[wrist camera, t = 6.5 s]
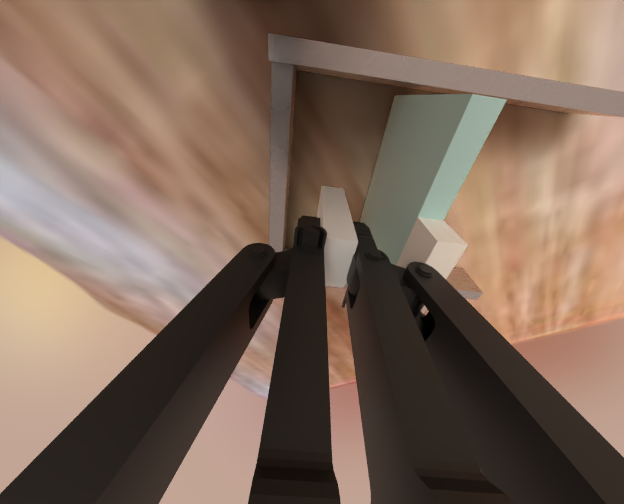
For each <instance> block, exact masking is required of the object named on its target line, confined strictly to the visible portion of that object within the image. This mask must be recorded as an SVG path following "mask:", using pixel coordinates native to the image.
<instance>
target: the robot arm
mask: <svg viewBox="0 0 624 504" xmlns="http://www.w3.org/2000/svg"><path fill="white" fill-rule="evenodd" d="M346 281H347V285H348V288H347V291H346V294H345V297H344V300H343V303H342V307H345V303H346V305H347V312H348V320H349V328H350V335H351V343H352V351H353V358H354V366H355V373H356V381H357V388H358V396H359V404H360V412H361V419H362V426H363V434H364V442H365V449H366V457H367V464H368V473H369V480H370V489H371V504H624V458H623V457H622V456H621V454H620V453H618V452H617V450H615V448H614V447H612V445H611V444H609V443H608V441H606V440H605V438H603V436H602V435H601V434H600V433H598V432H597V430H596V429H595V428H593V426H592V425H591V424H590V423H589V422H587V421H586V420H585V419H584V417H582V415H581V414H580V413H579V412H578V411H576V409H575V408H574V407H573V406H571V404H570V403H569V402H567V400H566V399H564V397H562V396H561V394H560V393H559V392H558V391H556V389H555V388H554V387H553V386H552V385H551V384H550V383H549V382H548V381H547V380H546V379H545V378H543V376H542V375H541V374H540V373H538V371H536V369H534V367H533V366H532V365H531V364H530V363H529V362H528V361H527V360H526V359H524V357H523V356H522V355H521V354H520V353H519V352H518V351H517V350H516V349H515V348H514V347H513V346H512V345H511V344H510V343H509V342H508V341H507V340H506V339H505V338H504V337H503V336H502V335H501V334H500V333H499V332H498V331H497V330H496V329H495V328H494V327H493V326H492V325H491V324H490V323H489V322H488V321H487V320H486V319H485V318H484V317H483V316H482V315H481V314H480V313H479V312H478V311H477V310H476V309H475V308H474V307H473V306H472V305H471V304H470V303H469V302H468V301H467V300H466V299H465V298H464V297H463V296H462V295H461V294H460V293H459V292H458V291H457V290H456V289H455V288H454V287H453V286H452V285H451V284H450V283H449V282H448V281H447V280H446V279H445V278H444V277H443V276H442V275H441V274H440V273H439V272H438V271H437V270H435V269H434V268H433V267H431V266H429V265H428V264H425V263H422V262H410V263H409V264H408V266H407V268H403V267H400V266H397V265H394V264H391V262H390V260H389V258H388V256H387V255H386V254H385V253H384V252H382V251H381V250H378V249H377V246H376V244H375V241H374V239H373V236H372V234H371V231H370V228H369V227H368V226H367V225H366V224H365V223H361V222H353V221H352V217H351V213H350V210H349V206H348V202H347V199H346V195H345V191H344V189H343V188H336V187H329V186H321V192H320V198H319V205H318V211H317V217H310V216H302V217H300V218H299V219H298V225H297V227H296V228H295V234H294V244H293V247H292V248H290V249H289V250H286V251H281V252H275V250H274V248H272V247H271V246H270V245H267V244H263V243H253V244H250V245H247V246H246V247H244V248H243V249H242V250H241V251H240V252H239V253H238V254H237V255H236V256H235V257H234V258H233V259H232V260H231V261H230V262H229V263H228V264H227V265H226V266H225V267H224V268H223V269H222V270H221V271H220V272H219V273H218V274H217V275H216V276H215V277H214V278H213V279H212V280H211V281H210V282H209V283H208V284H207V285H206V286H205V287H204V288H203V289H202V290H201V291H200V292H199V293H198V294H197V295H196V296H195V297H194V298H193V299H192V300H191V302H190V303H189V304H188V305H187V306H186V307H185V308H184V309H183V310H182V311H181V312H180V313H179V314H178V315H177V316H176V317H175V318H174V319H173V320H172V321H171V322H170V323H169V324H168V325H167V326H166V327H165V328H164V329H163V330H162V331H161V332H160V333H159V334H158V335H157V336H156V337H155V338H154V339H153V340H152V341H151V342H150V343H149V344H148V345H147V346H146V347H145V348H144V349H143V350H142V351H141V352H140V353H139V354H138V355H137V356H136V357H135V358H134V359H133V360H132V361H131V362H130V363H129V364H128V365H127V366H126V367H125V368H124V369H123V370H122V371H121V372H120V373H119V374H118V375H117V377H115V378H114V379H113V380H112V381H111V382H110V383H109V384H108V386H106V387H105V388H104V389H103V390H102V391H101V392H100V394H99V395H98V396H97V397H96V398H95V399H94V400H93V401H92V402H91V403H90V404H89V405H88V406H87V407H86V408H85V409H84V410H83V411H82V412H81V413H80V414H79V415H78V416H77V417H76V418H75V419H74V420H73V421H72V422H71V423H70V424H69V425H68V426H67V427H66V428H65V429H64V430H63V431H62V432H61V433H60V434H59V435H58V436H57V437H56V438H55V439H54V440H53V441H52V442H51V443H50V444H49V445H48V446H47V447H46V448H45V449H44V450H43V451H42V452H41V453H40V454H39V455H38V456H37V457H36V458H35V459H34V460H33V461H32V462H31V463H30V464H29V465H28V466H27V468H25V469H24V470H23V471H22V472H21V474H19V475H18V477H17V478H15V480H14V481H12V482H11V483H10V485H9V486H8V487H7V488H6V489H5V490H4V491H3V492H2V493H1V494H0V504H158V503H159V502H160V500H161V498H162V496H163V495H164V493H165V491H166V489H167V488H168V486H169V484H170V482H171V481H172V479H173V477H174V475H175V474H176V472H177V470H178V468H179V466H180V465H181V463H182V461H183V459H184V457H185V456H186V454H187V452H188V450H189V449H190V447H191V445H192V443H193V441H194V440H195V438H196V436H197V435H198V433H199V431H200V429H201V427H202V426H203V424H204V422H205V420H206V419H207V417H208V415H209V413H210V411H211V410H212V408H213V406H214V404H215V403H216V401H217V399H218V397H219V396H220V394H221V392H222V390H223V389H224V387H225V385H226V383H227V381H228V380H229V378H230V376H231V374H232V373H233V371H234V369H235V367H236V366H237V364H238V362H239V360H240V358H241V357H242V355H243V353H244V351H245V350H246V348H247V346H248V344H249V343H250V341H251V339H252V337H253V335H254V334H255V332H256V330H257V328H258V327H259V325H260V323H261V321H262V320H263V318H264V316H265V314H266V312H267V311H268V309H269V307H270V305H271V304H272V301H273V299H276V298H282V297H285V299H284V305H283V311H282V317H281V322H280V328H279V334H278V340H277V346H276V352H275V358H274V364H273V370H272V376H271V382H270V388H269V394H268V400H267V406H266V412H265V418H264V424H263V430H262V436H261V442H260V448H259V454H258V459H257V464H256V469H255V472H254V477H253V481H252V486H251V491H250V496H249V501H248V504H340V495H339V489H338V483H337V480H336V477H335V474H334V471H333V464H332V449H331V423H330V398H329V369H328V343H327V317H326V290H325V286H328V287H337V288H344V287H345V284H346ZM424 305H425V307H426V308H427V309H428V310H429V312H428V314H427V315H426V316H425V315H424V314H423V313H422V312H421V310H422V308H423V307H424ZM479 467H480V468H479ZM480 469H481V470H480ZM483 474H484V475H483Z"/></svg>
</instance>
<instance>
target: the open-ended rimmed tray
mask: <svg viewBox="0 0 624 504" xmlns="http://www.w3.org/2000/svg"><path fill="white" fill-rule="evenodd" d="M268 60H269V61H270V62H271V131H270V206H269V245H270V246H271V247H272V248H274V250H275V252H281V251H286V250H289V249H290V248H285V243H286V228H287V213H288V197H289V182H290V167H291V151H292V136H293V121H294V106H295V90H296V75H297V70H299V71H305V72H312V73H318V74H324V75H330V76H337V77H343V78H349V79H356V80H362V81H368V82H374V83H381V84H387V85H393V86H400V87H406V88H412V89H419V90H425V91H431V92H437V93H444V94H476V95H482V96H488V97H495V98H501V99H507V101H506V103H507V104H513V105H519V106H525V107H532V108H538V109H544V110H551V111H557V112H563V113H571V114H586V115H601V116H616V117H624V92H620V91H614V90H608V89H602V88H596V87H590V86H584V85H578V84H572V83H566V82H560V81H554V80H548V79H542V78H536V77H530V76H524V75H518V74H512V73H506V72H500V71H494V70H488V69H482V68H476V67H470V66H464V65H458V64H452V63H446V62H440V61H434V60H428V59H422V58H416V57H410V56H404V55H398V54H392V53H386V52H380V51H374V50H368V49H362V48H356V47H350V46H344V45H338V44H332V43H326V42H320V41H314V40H308V39H302V38H296V37H290V36H284V35H278V34H272V33H268ZM446 280H447V281H448V282H449V283H450V284H451V285H452V286H453V287H454V288H455V289H456V290H457V291H458V292H459V293H460V294H461V295H462V296H463V297H464V298H465V299H473V300H477V299H478V298H479V297H480V296H481V294H482V293H483V292H482V291H481V290H480V288H479V287H478V286H477V285H476V284H475V283H474V281H473V280H472V279H471V278H470V277H469V275H468V274H467V273H466V272H465V271H464V269H463V268H455V267H454V268H453V269H452V271H451V272H450V274H449V276H448V277H447V279H446ZM345 286H348V285H347V281H346V284H345Z"/></svg>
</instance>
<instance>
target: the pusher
mask: <svg viewBox="0 0 624 504" xmlns="http://www.w3.org/2000/svg"><path fill="white" fill-rule="evenodd" d="M506 101H507V99H501V98H495V97H488V96H482V95H476V94H438V95H395V97H394V100H393V104H392V107H391V111H390V114H389V118H388V122H387V125H386V129H385V132H384V136H383V139H382V143H381V146H380V150H379V154H378V157H377V161H376V164H375V168H374V171H373V175H372V179H371V182H370V186H369V189H368V193H367V196H366V200H365V204H364V207H363V211H362V214H361V218H360V221H359V222H361V223H365V224H366V225H367V226H368V227H369V228H370V231H371V234H372V236H373V239H374V241H375V244H376V246H377V249H378V250H381V251H382V252H384V253H385V254H386V255H387V256H388V258H389V260H390V262H391V264H394V265H397V266H400V267H403V268H407V266H408V264H409V263H410V262H422V263H425V264H428V265H429V266H431V267H433V268H434V269H435V270H437V271H438V272H439V273H440V274H441V275H442V276H443V277H444V278H445V279H447V277H448V276H449V274H450V272H451V271H452V269H453V268H454V266H455V265H456V263H457V262H458V260H459V258H460V257H461V255H462V254H463V252H464V251H465V249H466V248H467V246H468V244H467V243H466V242H465V241H464V240H463V239H462V238H461V237H460V236H459V235H458V234H457V233H456V232H455V231H454V230H453V229H452V228H451V227H450V226H449V225H448V224H447V223H446V222H445V221H444V218H445V217H446V215H447V213H448V211H449V209H450V207H451V205H452V203H453V201H454V199H455V198H456V196H457V194H458V192H459V190H460V188H461V186H462V184H463V182H464V181H465V179H466V177H467V175H468V173H469V171H470V169H471V167H472V165H473V163H474V162H475V160H476V158H477V156H478V154H479V152H480V150H481V148H482V146H483V144H484V143H485V141H486V139H487V137H488V135H489V133H490V131H491V129H492V127H493V125H494V124H495V122H496V120H497V118H498V116H499V114H500V112H501V110H502V108H503V106H504V105H505V103H506ZM426 310H427V308H426V307H425V305H424V307H423V308H422V310H421V312H422V313H423V314H424V313H425V311H426Z"/></svg>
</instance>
